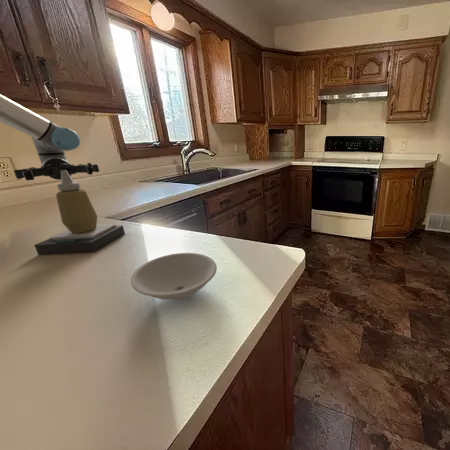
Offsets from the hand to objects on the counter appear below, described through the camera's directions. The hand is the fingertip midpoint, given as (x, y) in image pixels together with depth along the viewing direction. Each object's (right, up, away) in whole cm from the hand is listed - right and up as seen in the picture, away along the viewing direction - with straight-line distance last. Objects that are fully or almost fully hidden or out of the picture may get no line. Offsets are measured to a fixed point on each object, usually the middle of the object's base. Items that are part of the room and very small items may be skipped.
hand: (62, 172), depth 76 cm
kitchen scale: (+8, -22, -1) cm, 23 cm away
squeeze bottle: (+8, -18, -1) cm, 20 cm away
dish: (+50, -30, -27) cm, 64 cm away
